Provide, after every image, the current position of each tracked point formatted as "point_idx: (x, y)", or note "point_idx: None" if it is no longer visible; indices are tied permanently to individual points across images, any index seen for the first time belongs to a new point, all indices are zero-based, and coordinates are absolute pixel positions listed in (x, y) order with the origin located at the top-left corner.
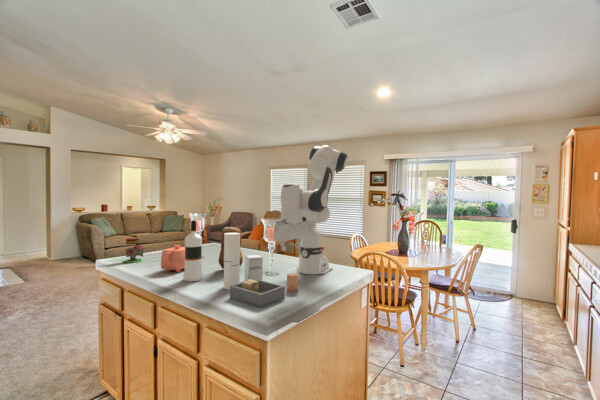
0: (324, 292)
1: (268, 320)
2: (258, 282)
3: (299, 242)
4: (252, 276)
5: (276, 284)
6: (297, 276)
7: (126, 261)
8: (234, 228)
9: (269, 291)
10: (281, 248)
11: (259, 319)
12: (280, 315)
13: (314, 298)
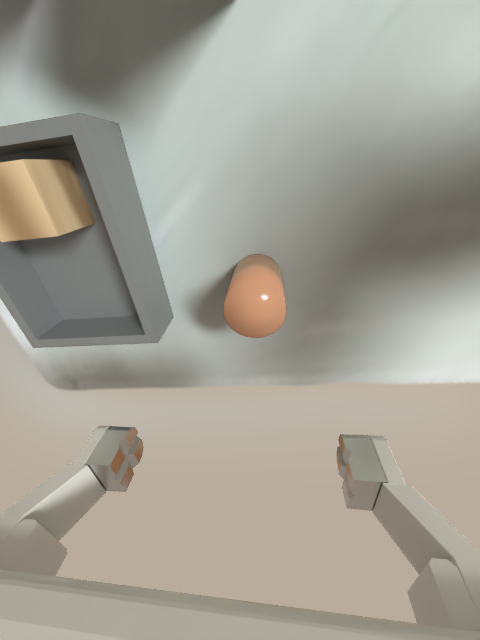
0: (318, 371)
1: (57, 382)
2: (62, 234)
3: (395, 539)
4: None
5: (139, 305)
6: (264, 333)
7: None
8: None
9: (73, 344)
10: (84, 446)
11: (38, 366)
12: (94, 383)
13: (246, 378)
